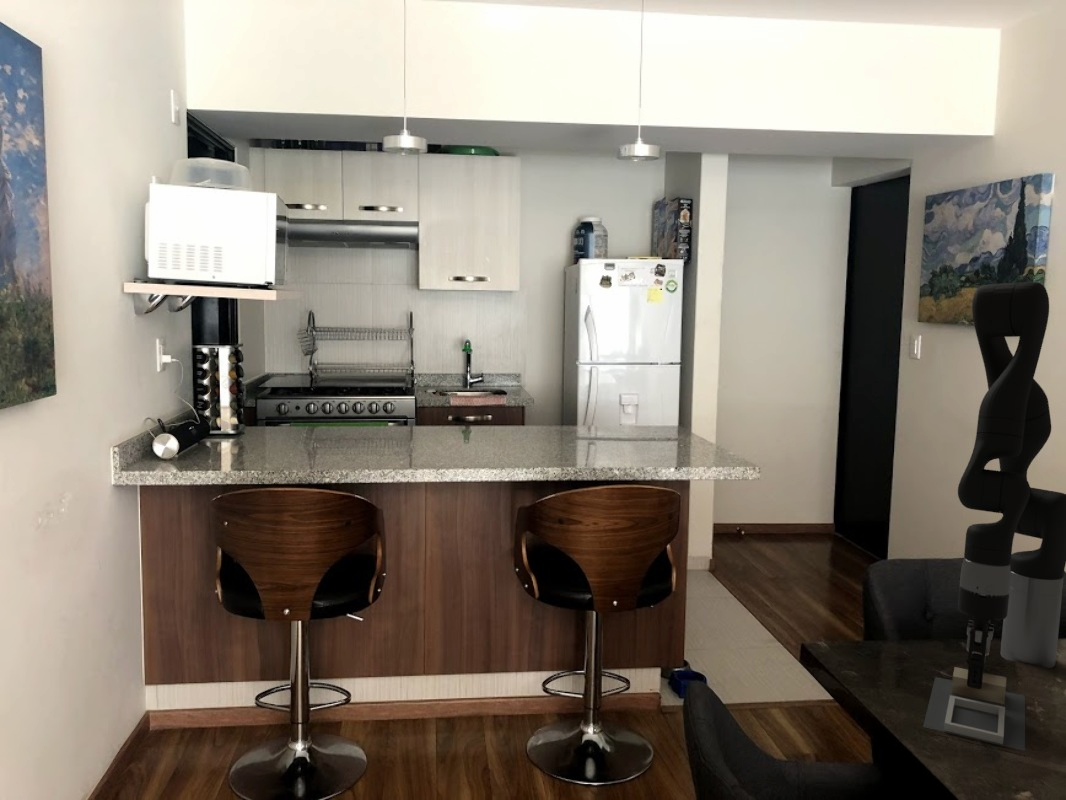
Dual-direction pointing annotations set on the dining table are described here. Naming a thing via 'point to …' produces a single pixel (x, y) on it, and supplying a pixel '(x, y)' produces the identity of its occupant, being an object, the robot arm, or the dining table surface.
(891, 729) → the dining table surface
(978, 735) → the slot frame
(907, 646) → the dining table surface
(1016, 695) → the mat
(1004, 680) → the tan rectangular block
